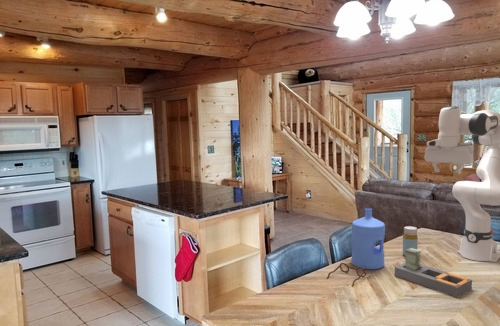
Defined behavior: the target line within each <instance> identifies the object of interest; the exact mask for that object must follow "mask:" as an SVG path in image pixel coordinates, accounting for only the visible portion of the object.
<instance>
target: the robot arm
mask: <svg viewBox="0 0 500 326" xmlns="http://www.w3.org/2000/svg"><path fill="white" fill-rule="evenodd" d="M438 116H439V117H438V129H439V132H438V134H437V138H435V139H433V140H430V141H427V142H426V146H427V147H425V151H424V161H425V162H426V163H427V162H428V163H432V164H431V165H432V167H433V168H434V172H435V173H440V167H438V163H441V164H442V163H444V164H454V165H455V164H457V165H458V168H457V169H456V170H455V175H461V174H462V170H463V168H464V167H465V165H472V164H473V162H474V153H473V152H474V145H472V144H471V143H469V142H467V143H465V142H461V136H464V135H465V136H471V140H472V142H473V143H474V144H475V145H479V146H488V147H487V149H485V150H486V151H484V153H483V155H482V156H481V158H480V161H479V163H478V164H477V168H476V169H475V172H476V176H477V177H478V178H479V179H480V180H482V181H474V180H460V181H456V182H455V183H453V184H454V185H452V191H451V192H452V195H453V197H454V199H456V200H457V201H458V202H459V204H460V205H461V206H462V208H463V210H464V215H465V228H464V231H463V236H462V237H461V239H460V240H461V241H460V248H459V249H458V250H457V253H458V254H460V256H461V257H463V258H465V259H469V260H471V261H478V262H492V263H497V262H498V261H499V260H500V251H499V250H498V243H497V242H496V241H495V240H494V238H493V234H494V232H495V231H494V230H492V228H491V226H492V225H491V224H492V217H491V215H490V213H489V212H487V211H486V210H484V208H482V207H481V205H486V206H500V113H499V112H497V111H495V110H493V109H492V110H491V109H483V110H478V111H475V112H474V113H461V108H460V107H459V106H454V105H453V106H444V107H442V108H441V109H440V112H439V115H438Z"/></svg>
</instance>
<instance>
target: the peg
mask: <svg viewBox="0 0 500 326" xmlns="http://www.w3.org/2000/svg"><path fill="white" fill-rule="evenodd" d="M404 261H405V262H404V263H405V268H407V269H411V270H414V271H417V270H419V269H420V264H421V250H420V249H418V248H417V249H413V248H410V249H407V250H406V257H405V260H404Z"/></svg>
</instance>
